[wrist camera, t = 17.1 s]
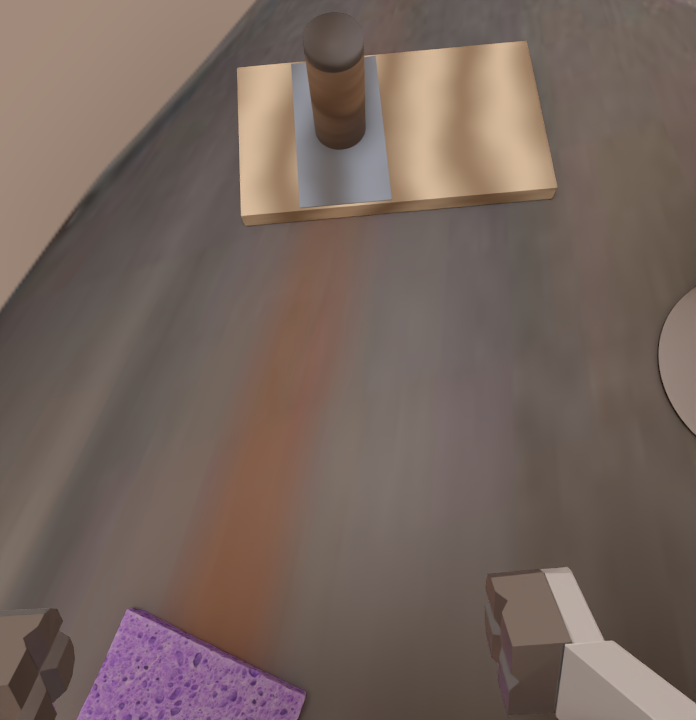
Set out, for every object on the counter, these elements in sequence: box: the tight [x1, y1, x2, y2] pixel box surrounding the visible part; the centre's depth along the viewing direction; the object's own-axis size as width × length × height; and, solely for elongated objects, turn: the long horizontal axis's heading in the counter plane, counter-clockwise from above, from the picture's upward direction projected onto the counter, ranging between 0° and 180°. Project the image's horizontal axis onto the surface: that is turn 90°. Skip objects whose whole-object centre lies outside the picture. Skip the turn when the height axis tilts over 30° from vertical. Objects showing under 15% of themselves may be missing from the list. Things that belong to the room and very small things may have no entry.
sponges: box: [77, 608, 306, 720], centre depth 37 cm, size 7×13×2 cm, turn 67°
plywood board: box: [237, 41, 557, 226], centre depth 49 cm, size 24×14×2 cm, turn 94°
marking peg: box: [303, 12, 366, 150], centre depth 44 cm, size 4×4×9 cm
